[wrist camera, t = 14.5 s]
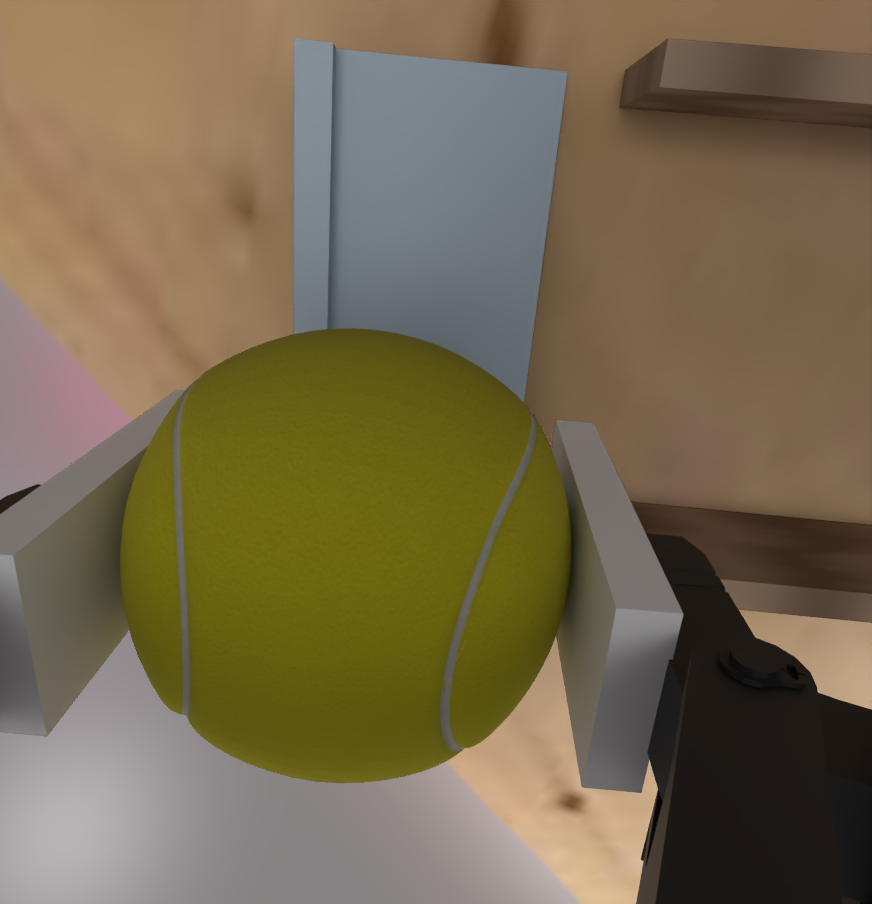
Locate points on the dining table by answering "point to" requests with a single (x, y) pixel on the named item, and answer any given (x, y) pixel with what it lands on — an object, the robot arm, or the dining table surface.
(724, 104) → the crate
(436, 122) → the blue-grey book
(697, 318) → the dining table surface
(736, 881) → the robot arm
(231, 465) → the tennis ball
